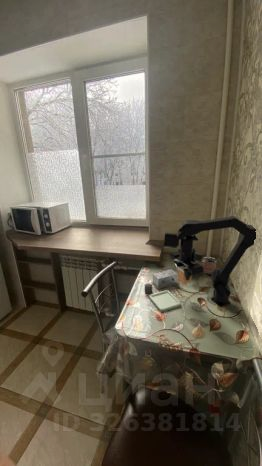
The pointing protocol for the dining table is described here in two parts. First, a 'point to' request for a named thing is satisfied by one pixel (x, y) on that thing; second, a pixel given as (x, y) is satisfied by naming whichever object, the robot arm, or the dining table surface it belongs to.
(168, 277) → the box
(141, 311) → the dining table surface
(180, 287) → the dining table surface
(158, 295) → the tray
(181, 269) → the square block
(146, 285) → the dark rounded cylinder
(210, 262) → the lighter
